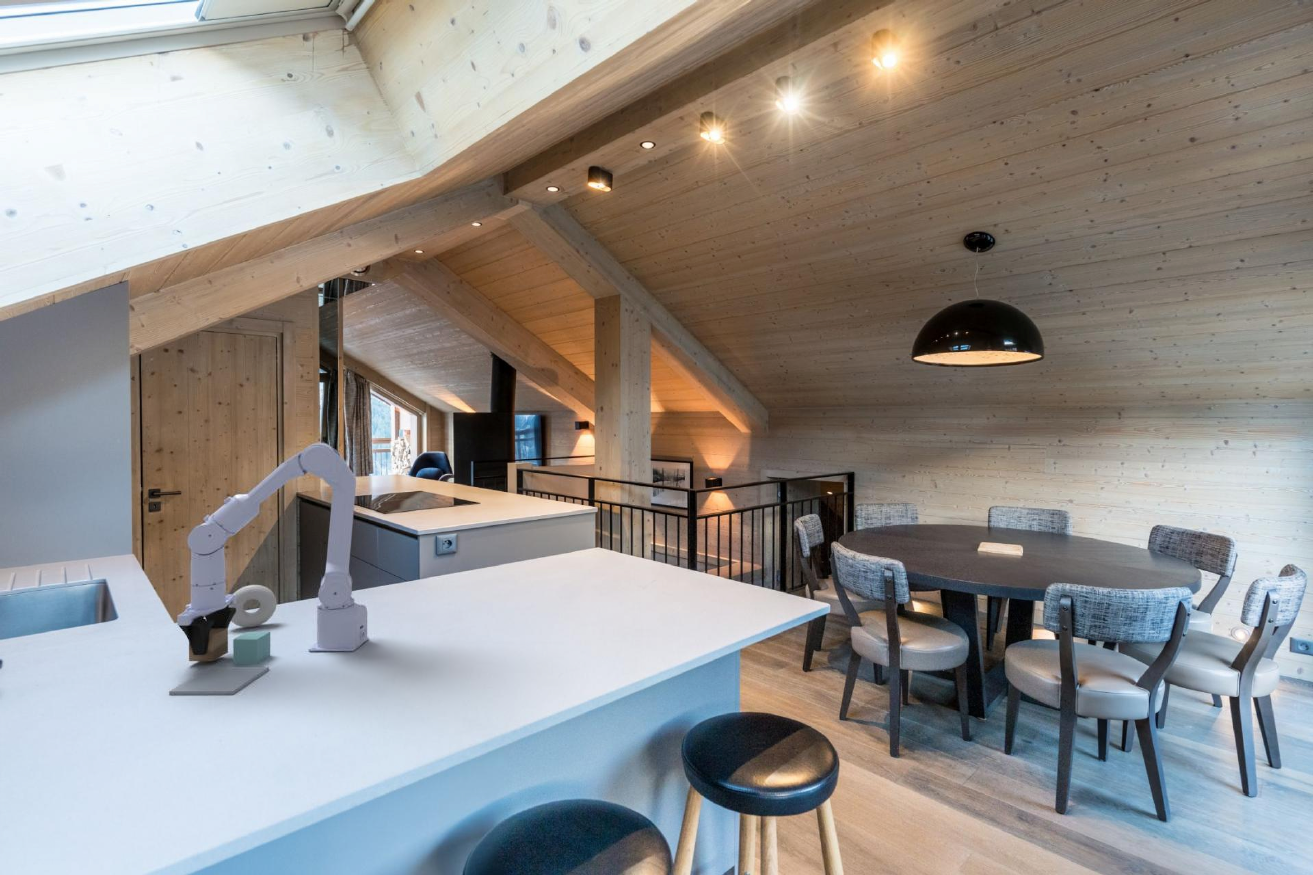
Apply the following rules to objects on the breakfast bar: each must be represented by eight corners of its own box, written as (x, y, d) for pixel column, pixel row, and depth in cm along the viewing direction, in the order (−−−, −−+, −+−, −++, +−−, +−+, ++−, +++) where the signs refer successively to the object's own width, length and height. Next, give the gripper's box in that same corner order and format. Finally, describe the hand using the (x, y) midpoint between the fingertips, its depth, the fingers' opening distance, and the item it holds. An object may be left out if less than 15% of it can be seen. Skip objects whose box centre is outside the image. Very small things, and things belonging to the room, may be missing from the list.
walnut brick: (227, 652, 128) (227, 628, 128) (212, 661, 123) (212, 635, 123) (205, 652, 128) (204, 628, 127) (189, 661, 123) (188, 636, 123)
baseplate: (269, 669, 121) (269, 666, 121) (232, 694, 110) (232, 691, 110) (211, 669, 121) (211, 666, 121) (169, 694, 110) (169, 691, 110)
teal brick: (270, 655, 129) (270, 631, 129) (256, 664, 125) (256, 639, 124) (247, 655, 129) (247, 631, 129) (233, 664, 124) (233, 639, 124)
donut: (225, 632, 142) (225, 589, 142) (226, 628, 145) (226, 585, 145) (276, 625, 147) (276, 584, 147) (276, 621, 150) (276, 580, 150)
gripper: (212, 573, 132) (212, 637, 132) (160, 592, 118) (161, 663, 118) (246, 573, 132) (246, 637, 133) (198, 592, 118) (199, 663, 118)
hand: (208, 649), depth 125 cm, fingers closed on walnut brick, 5 cm apart
